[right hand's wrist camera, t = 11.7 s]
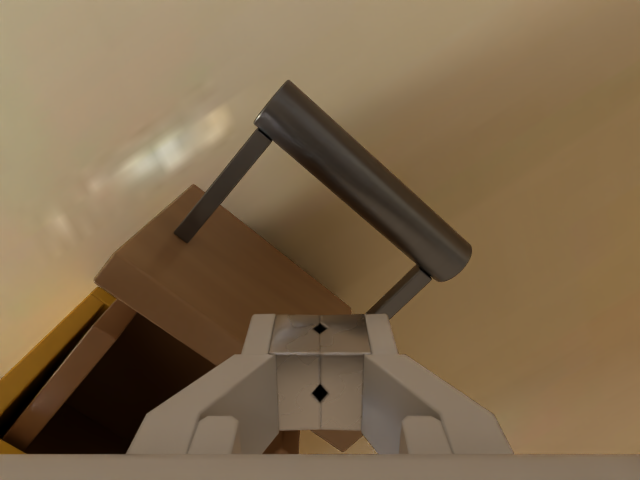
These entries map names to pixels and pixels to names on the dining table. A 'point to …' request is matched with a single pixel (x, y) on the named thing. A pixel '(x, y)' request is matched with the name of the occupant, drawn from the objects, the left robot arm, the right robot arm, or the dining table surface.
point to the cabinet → (46, 361)
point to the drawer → (222, 288)
